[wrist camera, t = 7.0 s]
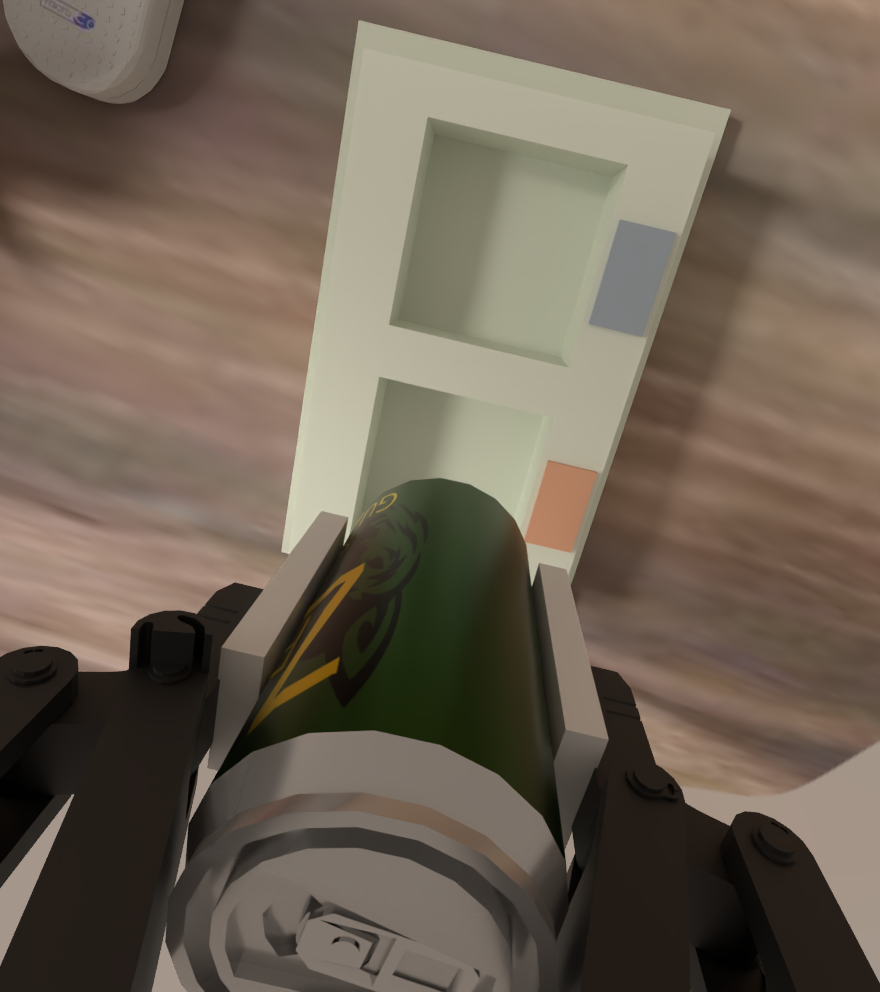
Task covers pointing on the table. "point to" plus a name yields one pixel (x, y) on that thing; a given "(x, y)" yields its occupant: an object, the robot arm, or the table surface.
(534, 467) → the socket board
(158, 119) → the table surface
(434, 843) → the beer can
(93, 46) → the electronic device
